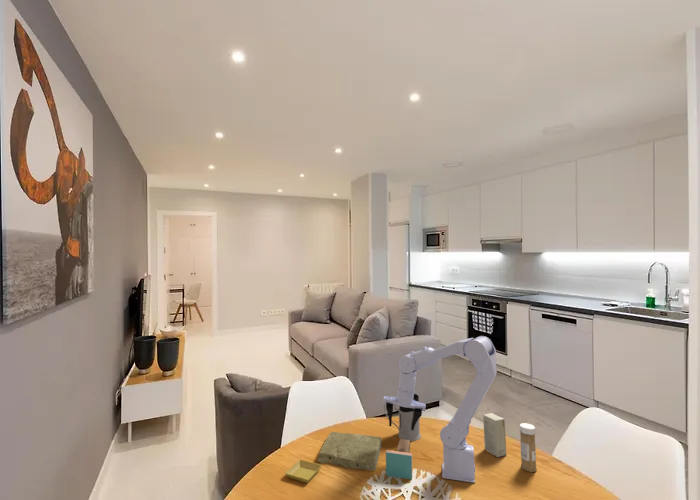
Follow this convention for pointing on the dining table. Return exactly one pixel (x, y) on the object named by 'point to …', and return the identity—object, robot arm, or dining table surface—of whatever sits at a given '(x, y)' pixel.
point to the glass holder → (407, 423)
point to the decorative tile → (351, 450)
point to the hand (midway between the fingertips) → (401, 426)
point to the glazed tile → (399, 464)
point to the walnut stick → (404, 446)
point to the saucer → (303, 470)
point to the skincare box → (494, 434)
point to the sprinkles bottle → (528, 447)
